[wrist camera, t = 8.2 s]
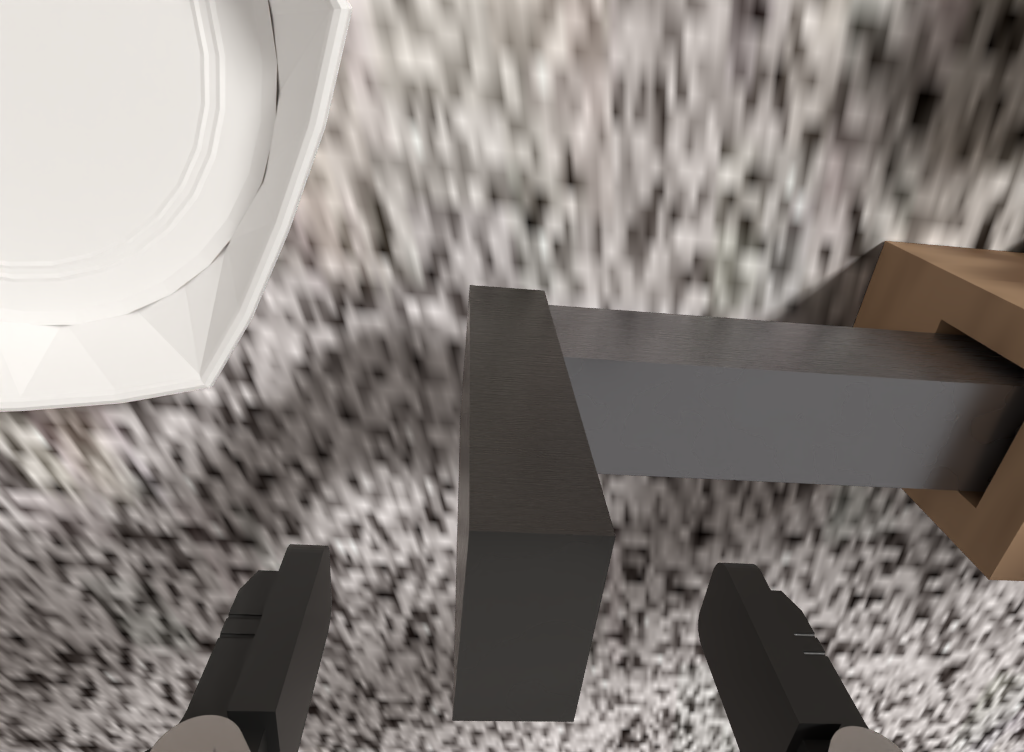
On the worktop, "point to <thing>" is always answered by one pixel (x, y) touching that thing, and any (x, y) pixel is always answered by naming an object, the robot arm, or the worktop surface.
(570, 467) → the grey l-shaped block
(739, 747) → the robot arm
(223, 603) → the worktop surface
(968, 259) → the block
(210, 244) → the pan
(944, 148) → the worktop surface
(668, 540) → the worktop surface
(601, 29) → the worktop surface
